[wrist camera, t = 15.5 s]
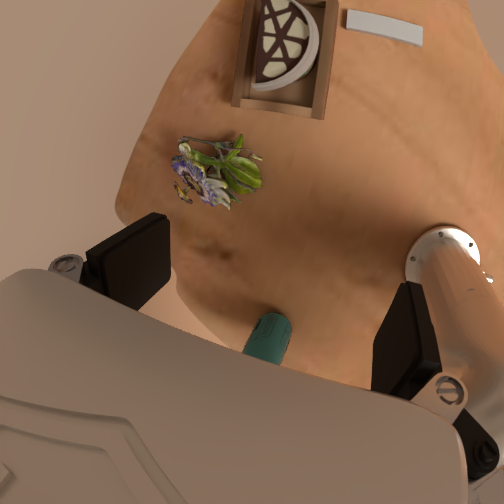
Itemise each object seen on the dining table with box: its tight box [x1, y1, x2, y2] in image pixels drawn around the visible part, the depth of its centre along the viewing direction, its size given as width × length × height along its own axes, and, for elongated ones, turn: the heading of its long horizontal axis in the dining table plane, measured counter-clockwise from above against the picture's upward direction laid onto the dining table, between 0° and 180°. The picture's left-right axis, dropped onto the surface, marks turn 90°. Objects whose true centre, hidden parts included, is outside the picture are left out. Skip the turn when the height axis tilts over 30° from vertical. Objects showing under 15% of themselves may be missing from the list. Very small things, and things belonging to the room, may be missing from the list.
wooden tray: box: [231, 0, 339, 120], centre depth 30 cm, size 11×17×4 cm, turn 173°
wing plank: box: [346, 9, 423, 48], centre depth 25 cm, size 10×3×2 cm, turn 84°
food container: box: [251, 0, 319, 91], centre depth 26 cm, size 12×6×10 cm, turn 176°
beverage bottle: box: [242, 313, 292, 365], centre depth 43 cm, size 6×7×20 cm
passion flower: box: [171, 134, 263, 210], centre depth 39 cm, size 11×11×12 cm
